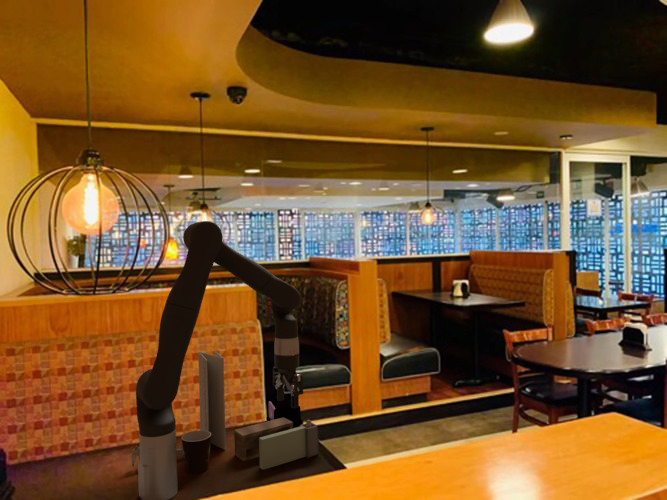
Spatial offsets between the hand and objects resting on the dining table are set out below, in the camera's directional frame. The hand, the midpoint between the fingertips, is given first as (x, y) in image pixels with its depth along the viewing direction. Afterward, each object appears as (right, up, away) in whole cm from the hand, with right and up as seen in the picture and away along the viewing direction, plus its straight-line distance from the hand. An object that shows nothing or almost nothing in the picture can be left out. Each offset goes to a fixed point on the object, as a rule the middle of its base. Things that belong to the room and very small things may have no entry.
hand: (287, 404), depth 156 cm
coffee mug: (-26, -18, -3) cm, 32 cm away
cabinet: (-5, -17, +5) cm, 19 cm away
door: (0, -17, +1) cm, 17 cm away
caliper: (-37, -19, +2) cm, 42 cm away
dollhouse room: (-4, -17, +34) cm, 39 cm away
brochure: (-26, -18, +14) cm, 35 cm away
